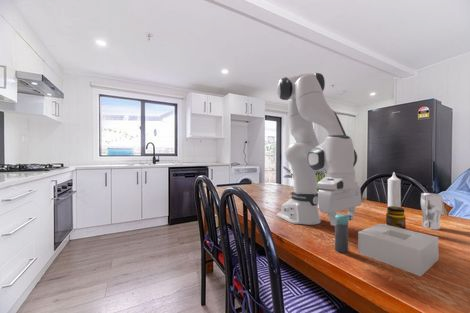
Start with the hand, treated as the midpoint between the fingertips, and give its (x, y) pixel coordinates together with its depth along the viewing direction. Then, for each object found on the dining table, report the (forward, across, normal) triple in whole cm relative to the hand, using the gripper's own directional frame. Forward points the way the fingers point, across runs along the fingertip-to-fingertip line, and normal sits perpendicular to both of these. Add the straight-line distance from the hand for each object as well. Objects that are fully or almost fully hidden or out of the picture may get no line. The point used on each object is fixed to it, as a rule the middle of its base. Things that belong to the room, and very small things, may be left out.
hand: (342, 222), depth 69 cm
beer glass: (+11, -55, +9) cm, 57 cm away
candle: (+10, -41, 0) cm, 43 cm away
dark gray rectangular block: (+10, 0, -1) cm, 10 cm away
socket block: (+10, -11, +11) cm, 19 cm away
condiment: (+10, -28, +4) cm, 30 cm away
